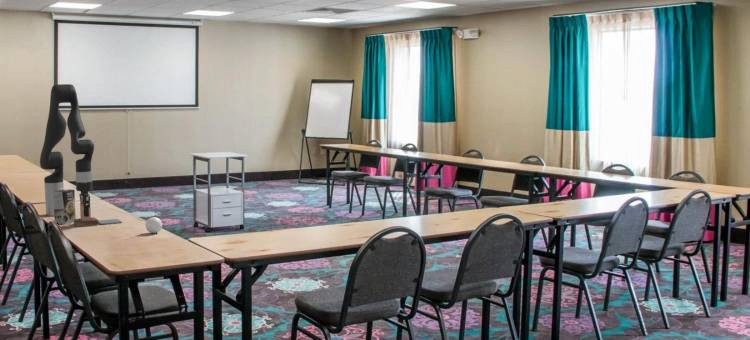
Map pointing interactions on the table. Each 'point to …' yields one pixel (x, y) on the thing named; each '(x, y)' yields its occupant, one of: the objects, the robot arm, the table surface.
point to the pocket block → (85, 222)
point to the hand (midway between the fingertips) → (85, 215)
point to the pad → (109, 221)
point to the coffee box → (64, 206)
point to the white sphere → (153, 225)
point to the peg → (83, 213)
